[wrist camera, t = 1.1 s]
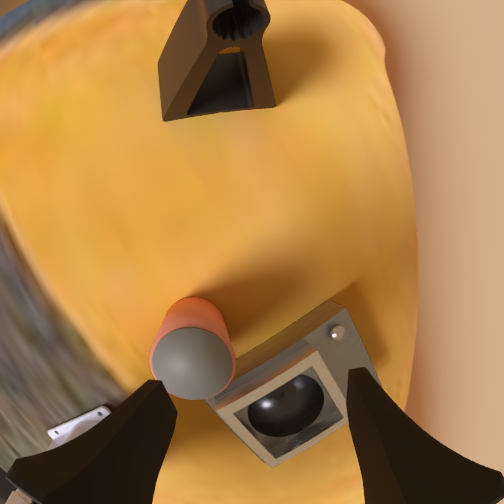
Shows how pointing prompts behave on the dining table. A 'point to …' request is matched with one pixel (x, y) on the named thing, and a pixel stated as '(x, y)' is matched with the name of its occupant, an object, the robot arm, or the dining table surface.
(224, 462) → the dining table surface
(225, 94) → the phone stand
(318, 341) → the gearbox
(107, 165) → the dining table surface
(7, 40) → the dining table surface
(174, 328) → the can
